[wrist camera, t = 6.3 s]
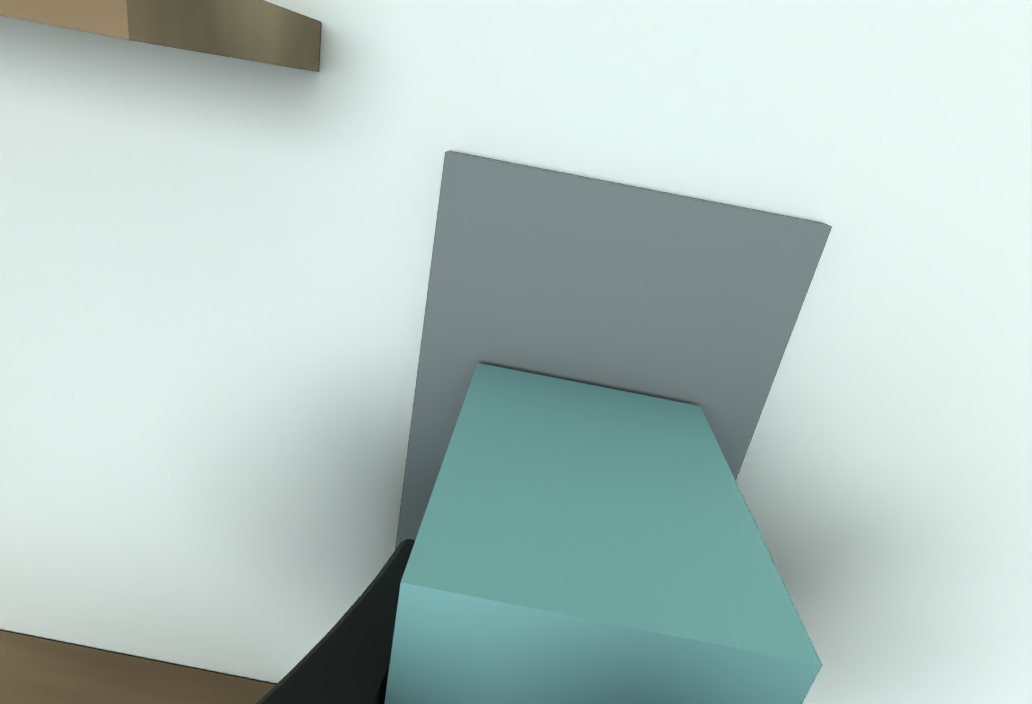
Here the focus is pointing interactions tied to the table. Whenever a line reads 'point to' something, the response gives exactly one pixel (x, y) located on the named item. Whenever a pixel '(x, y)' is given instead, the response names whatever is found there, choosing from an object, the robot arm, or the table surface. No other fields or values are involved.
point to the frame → (203, 28)
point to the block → (590, 561)
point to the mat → (601, 300)
